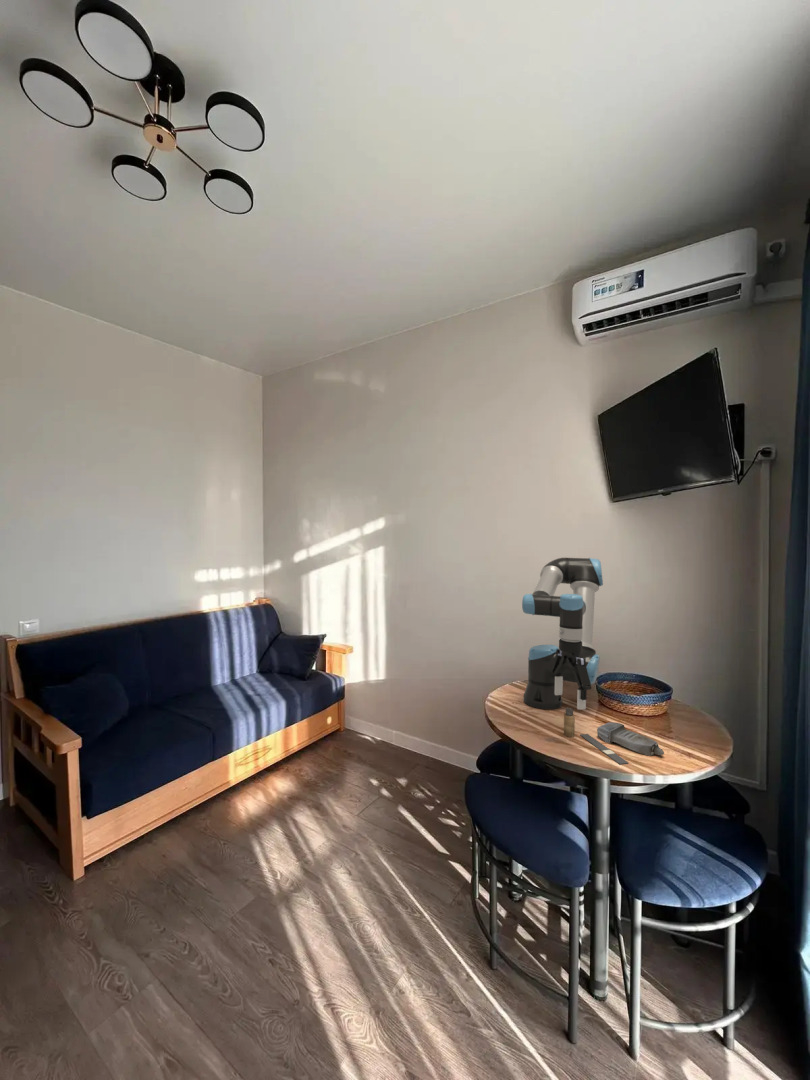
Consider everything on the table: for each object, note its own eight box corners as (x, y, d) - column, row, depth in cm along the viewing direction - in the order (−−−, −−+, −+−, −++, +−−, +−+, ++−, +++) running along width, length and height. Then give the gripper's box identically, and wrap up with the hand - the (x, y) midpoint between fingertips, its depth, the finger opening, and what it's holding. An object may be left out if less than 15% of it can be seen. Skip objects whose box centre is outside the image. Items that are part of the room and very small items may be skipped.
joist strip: (579, 735, 153) (579, 734, 153) (587, 734, 154) (587, 733, 154) (619, 764, 134) (619, 763, 134) (628, 763, 134) (628, 762, 134)
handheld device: (657, 763, 136) (657, 748, 135) (594, 739, 151) (594, 725, 151) (670, 754, 141) (670, 739, 141) (608, 732, 157) (609, 718, 157)
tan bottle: (561, 733, 155) (562, 707, 155) (570, 732, 156) (571, 706, 156) (567, 737, 151) (567, 711, 151) (576, 736, 152) (576, 710, 152)
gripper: (541, 632, 165) (540, 690, 165) (582, 648, 140) (581, 716, 140) (560, 632, 166) (559, 689, 166) (603, 647, 142) (602, 714, 142)
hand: (569, 701), depth 153 cm, fingers open, 13 cm apart
